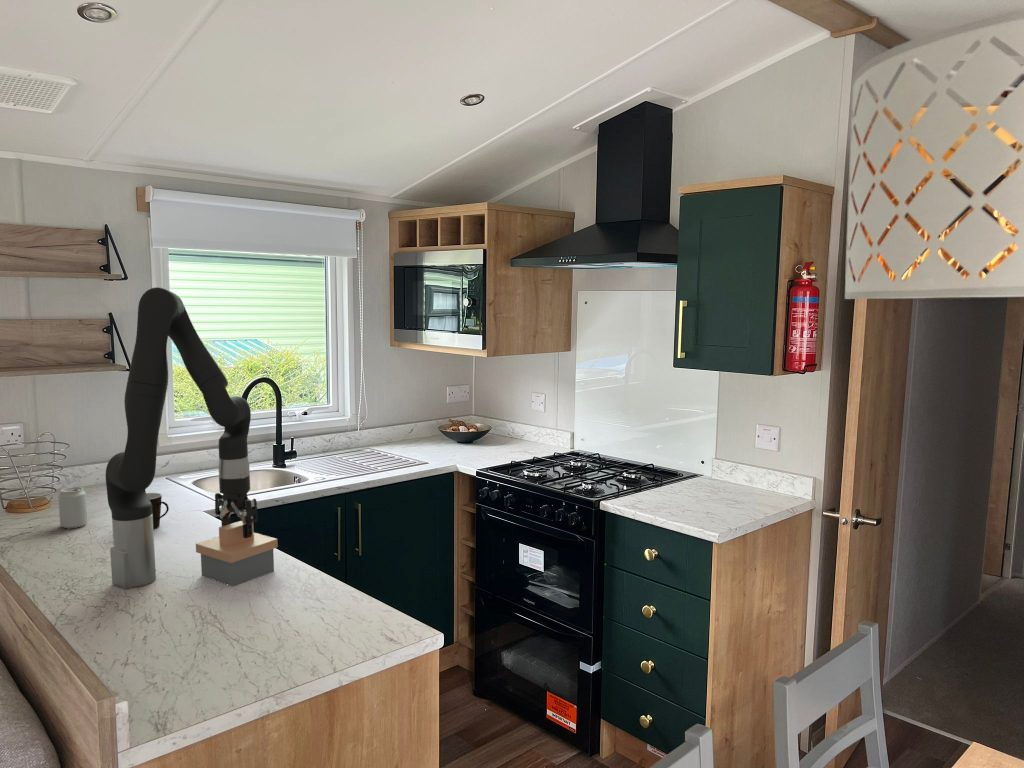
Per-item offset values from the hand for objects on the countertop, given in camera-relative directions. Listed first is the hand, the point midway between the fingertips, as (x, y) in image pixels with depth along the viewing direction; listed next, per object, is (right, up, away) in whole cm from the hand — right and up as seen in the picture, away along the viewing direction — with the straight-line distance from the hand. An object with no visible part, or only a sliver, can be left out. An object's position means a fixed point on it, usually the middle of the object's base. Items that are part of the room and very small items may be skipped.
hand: (237, 534), depth 200 cm
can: (-66, -6, +41) cm, 78 cm away
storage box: (0, -11, +1) cm, 11 cm away
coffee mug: (-41, -6, +39) cm, 57 cm away
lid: (0, -4, 0) cm, 4 cm away
